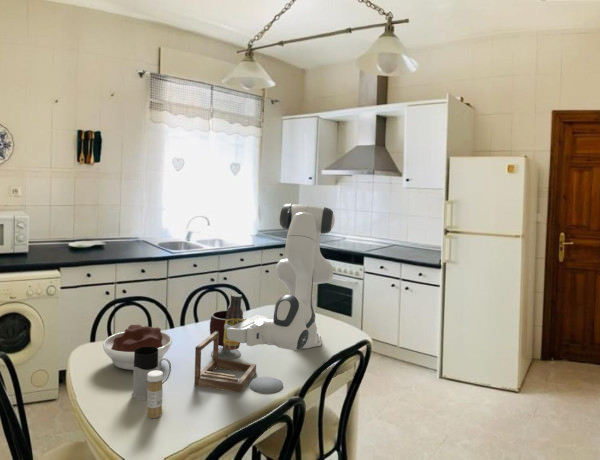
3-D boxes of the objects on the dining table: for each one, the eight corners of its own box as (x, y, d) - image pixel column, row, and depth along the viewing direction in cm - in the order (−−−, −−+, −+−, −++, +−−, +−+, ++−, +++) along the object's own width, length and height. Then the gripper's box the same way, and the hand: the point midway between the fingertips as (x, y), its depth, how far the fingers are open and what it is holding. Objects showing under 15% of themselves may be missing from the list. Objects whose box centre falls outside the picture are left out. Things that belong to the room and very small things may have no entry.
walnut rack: (214, 365, 178) (215, 331, 177) (255, 371, 175) (257, 336, 174) (194, 385, 161) (195, 347, 159) (240, 392, 158) (241, 353, 156)
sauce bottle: (223, 351, 164) (227, 297, 161) (222, 344, 170) (225, 292, 167) (242, 350, 166) (245, 297, 163) (239, 343, 172) (242, 292, 169)
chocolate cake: (115, 384, 159) (115, 342, 157) (94, 360, 178) (94, 322, 176) (182, 368, 175) (183, 330, 173) (156, 347, 194) (157, 313, 192)
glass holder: (144, 385, 159) (144, 344, 157) (178, 394, 154) (179, 351, 152) (125, 396, 151) (126, 352, 149) (161, 406, 146) (162, 360, 144)
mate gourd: (239, 362, 183) (241, 313, 181) (205, 360, 184) (207, 311, 181) (245, 348, 199) (247, 303, 197) (213, 346, 199) (215, 301, 197)
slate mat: (255, 376, 171) (255, 374, 171) (286, 380, 169) (286, 379, 169) (244, 390, 159) (244, 388, 159) (278, 395, 157) (278, 393, 157)
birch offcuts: (206, 379, 166) (206, 370, 166) (239, 384, 164) (239, 375, 163) (202, 383, 163) (202, 374, 162) (235, 388, 160) (235, 379, 160)
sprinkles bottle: (157, 409, 143) (158, 368, 142) (165, 415, 140) (165, 373, 139) (143, 414, 140) (144, 372, 138) (151, 420, 137) (152, 377, 135)
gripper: (278, 314, 170) (247, 308, 176) (248, 329, 151) (214, 322, 158) (278, 331, 170) (246, 324, 177) (247, 348, 152) (214, 339, 158)
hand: (231, 323), depth 167 cm, fingers closed on sauce bottle, 6 cm apart
